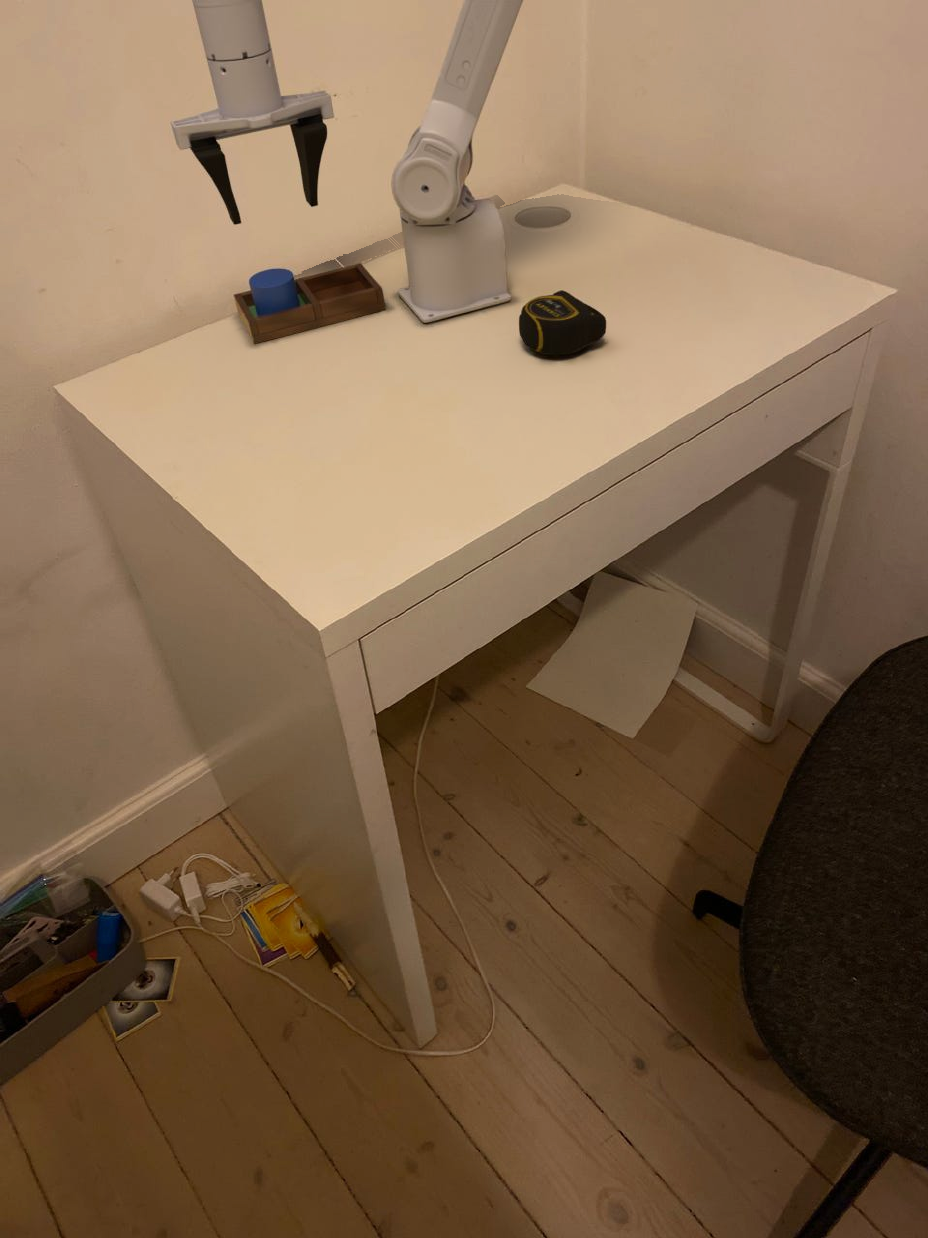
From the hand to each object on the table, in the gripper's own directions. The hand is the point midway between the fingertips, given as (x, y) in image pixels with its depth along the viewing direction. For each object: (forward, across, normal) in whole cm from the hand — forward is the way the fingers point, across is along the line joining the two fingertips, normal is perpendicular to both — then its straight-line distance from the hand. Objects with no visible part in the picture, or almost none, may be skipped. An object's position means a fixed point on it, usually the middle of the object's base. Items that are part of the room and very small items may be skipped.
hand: (274, 211), depth 90 cm
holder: (+9, +1, -3) cm, 10 cm away
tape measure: (+10, +20, -22) cm, 31 cm away
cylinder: (+8, -2, -3) cm, 9 cm away
